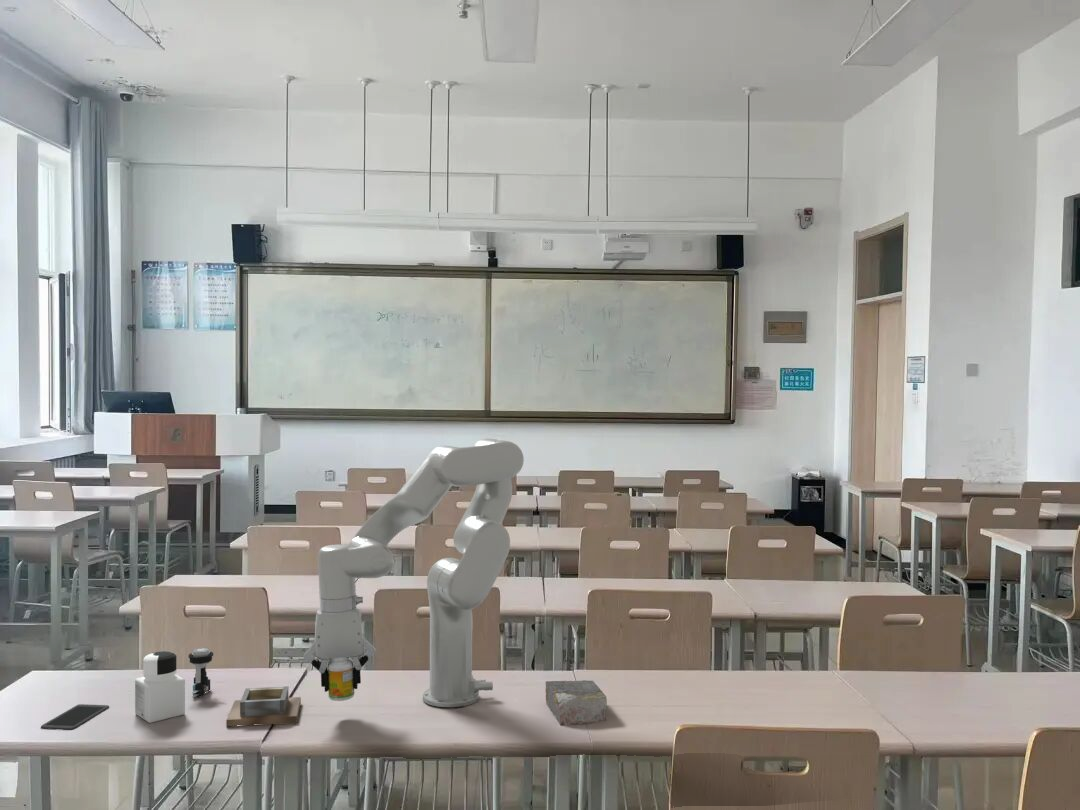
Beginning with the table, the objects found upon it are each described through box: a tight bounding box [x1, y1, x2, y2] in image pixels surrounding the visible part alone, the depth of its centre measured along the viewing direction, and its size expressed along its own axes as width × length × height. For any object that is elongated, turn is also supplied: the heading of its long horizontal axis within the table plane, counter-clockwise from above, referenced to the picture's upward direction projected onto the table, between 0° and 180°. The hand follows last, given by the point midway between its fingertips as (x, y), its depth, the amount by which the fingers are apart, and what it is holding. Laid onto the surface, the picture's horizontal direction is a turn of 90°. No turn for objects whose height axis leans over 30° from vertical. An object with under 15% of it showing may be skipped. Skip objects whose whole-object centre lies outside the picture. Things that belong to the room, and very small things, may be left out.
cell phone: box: [40, 703, 110, 731], centre depth 196 cm, size 7×14×1 cm, turn 175°
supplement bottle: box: [327, 657, 355, 702], centre depth 197 cm, size 5×5×10 cm
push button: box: [188, 647, 214, 698], centre depth 211 cm, size 7×5×10 cm
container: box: [134, 650, 186, 724], centre depth 198 cm, size 8×8×13 cm
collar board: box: [225, 686, 302, 726], centre depth 198 cm, size 14×12×4 cm
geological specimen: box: [545, 679, 608, 726], centre depth 202 cm, size 11×6×15 cm
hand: (341, 687), depth 198 cm, fingers closed on supplement bottle, 5 cm apart
